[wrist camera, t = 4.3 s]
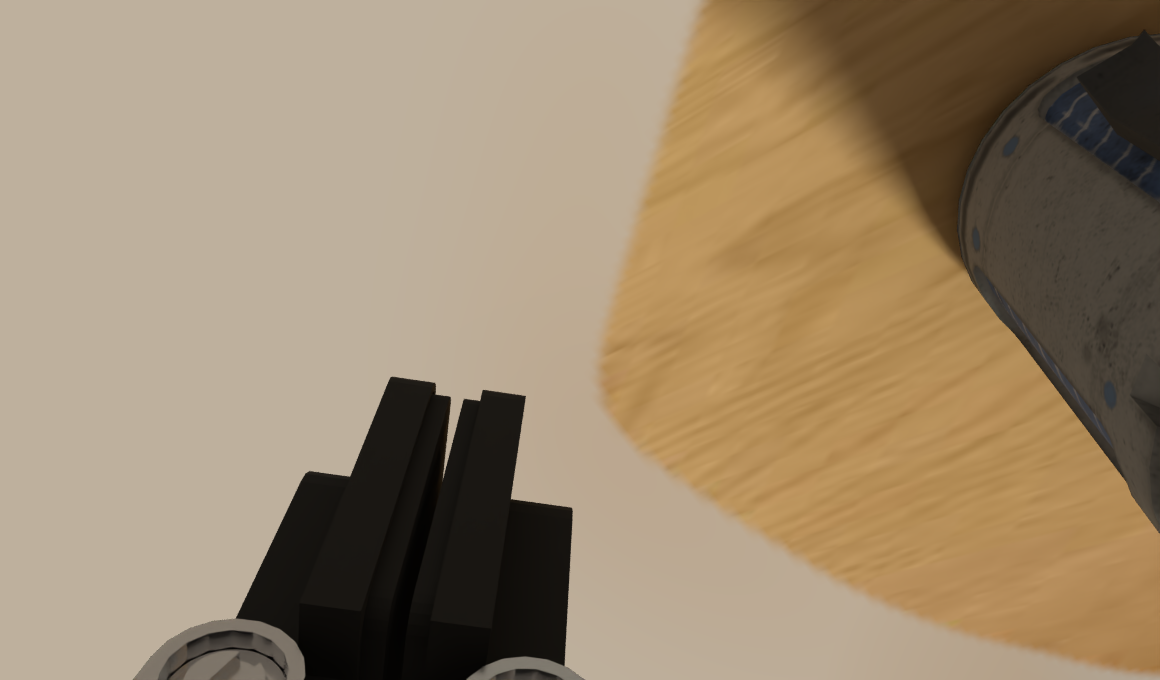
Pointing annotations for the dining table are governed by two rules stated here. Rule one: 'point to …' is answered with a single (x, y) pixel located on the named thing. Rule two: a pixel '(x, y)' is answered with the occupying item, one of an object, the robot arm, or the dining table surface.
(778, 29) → the dining table surface
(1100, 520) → the dining table surface
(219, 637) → the robot arm
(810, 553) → the dining table surface
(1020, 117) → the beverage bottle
